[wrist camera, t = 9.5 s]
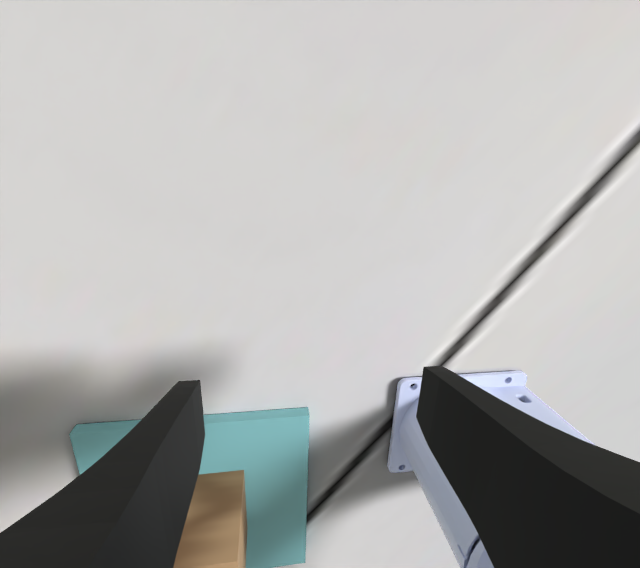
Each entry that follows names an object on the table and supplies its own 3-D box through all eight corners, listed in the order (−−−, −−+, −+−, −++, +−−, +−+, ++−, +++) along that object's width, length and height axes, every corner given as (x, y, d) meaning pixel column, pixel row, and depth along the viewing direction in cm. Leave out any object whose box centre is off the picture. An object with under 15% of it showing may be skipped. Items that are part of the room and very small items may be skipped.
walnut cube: (244, 469, 22) (237, 561, 17) (247, 528, 24) (242, 627, 19) (155, 479, 21) (120, 578, 16) (166, 539, 23) (137, 645, 18)
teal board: (307, 407, 22) (309, 415, 21) (304, 551, 27) (305, 562, 26) (76, 424, 20) (69, 434, 19) (114, 578, 25) (110, 591, 24)
